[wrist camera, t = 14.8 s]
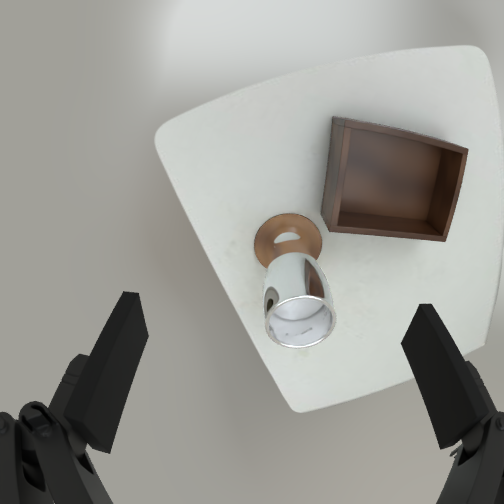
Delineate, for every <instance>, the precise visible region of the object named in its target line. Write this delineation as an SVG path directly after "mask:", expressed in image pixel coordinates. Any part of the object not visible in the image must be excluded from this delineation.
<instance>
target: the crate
mask: <svg viewBox="0 0 504 504" xmlns="http://www.w3.org/2000/svg"><path fill="white" fill-rule="evenodd" d="M467 155H468V149H467V148H464V147H462V146H459V145H456V144H453V143H451V142H448V141H445V140H441V139H438V138H434V137H431V136H427V135H423V134H419V133H415V132H411V131H407V130H403V129H399V128H394V127H390V126H385V125H380V124H375V123H370V122H365V121H359V120H354V119H348V118H341V117H335V116H333V119H332V129H331V138H330V147H329V156H328V164H327V172H326V180H325V187H324V194H323V201H322V208H321V216H322V218H323V220H324V222H325V224H326V226H327V228H328V230H329V232H338V233H351V234H363V235H375V236H387V237H398V238H409V239H420V240H430V241H440V242H445V241H446V238H447V235H448V232H449V229H450V226H451V222H452V219H453V215H454V212H455V208H456V204H457V201H458V197H459V193H460V188H461V184H462V180H463V175H464V170H465V165H466V160H467Z"/></svg>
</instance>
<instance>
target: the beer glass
mask: <svg viewBox="0 0 504 504" xmlns="http://www.w3.org/2000/svg"><path fill="white" fill-rule="evenodd" d="M265 248H266V253H267V256H268V258H269V265H268V268H267V272H266V275H265V279H264V285H263V310H264V318H265V328H266V332H267V334H268V336H269V337H270V338H271V339H272V340H273V341H274V342H276V343H277V344H279V345H281V346H284V347H288V348H306V347H310V346H313V345H316V344H318V343H320V342H321V341H323V340H324V339H326V338H327V337H328V336H329V335H330V334H331V332H332V331H333V329H334V327H335V325H336V313H335V309H334V303H333V298H332V293H331V289H330V286H329V283H328V281H327V278H326V276H325V274H324V272H323V270H322V269H321V267H320V266H319V264H318V263H317V261H316V260H315V259H314V257H313V256H312V254H311V250H312V244H311V240H310V238H309V236H308V234H307V233H306V232H305V231H303V230H302V229H300V228H298V227H295V226H284V227H281V228H278V229H276V230H275V231H274V232H272V233H271V234H270V236H269V237H268V239H267V242H266V247H265Z"/></svg>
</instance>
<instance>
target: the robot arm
mask: <svg viewBox="0 0 504 504" xmlns="http://www.w3.org/2000/svg"><path fill="white" fill-rule="evenodd" d="M148 337H149V335H148V331H147V327H146V323H145V319H144V314H143V310H142V306H141V301H140V297H139V293H134V292H124V291H123V293H122V295H121V297H120V299H119V300H118V302H117V304H116V306H115V308H114V309H113V311H112V313H111V315H110V317H109V319H108V321H107V322H106V324H105V326H104V328H103V330H102V332H101V334H100V336H99V338H98V340H97V342H96V344H95V346H94V348H93V350H92V352H91V354H90V356H87V355H83V354H79V355H77V356H76V357H75V358H74V359H73V360H72V361H71V362H70V364H69V366H68V368H67V370H66V373H65V374H64V376H63V378H62V381H61V382H60V384H59V386H58V388H57V390H56V392H55V394H54V396H53V399H52V401H51V403H50V405H49V407H48V408H47V407H46V406H45V405H44V404H43V403H41V402H37V401H33V402H29V403H27V404H26V405H24V406H23V408H22V409H21V410H20V413H19V420H15V419H14V418H13V417H12V416H11V415H9V414H8V413H6V412H0V504H54V503H55V504H113V502H112V501H111V499H110V497H109V495H108V493H107V492H106V490H105V488H104V486H103V484H102V482H101V480H100V478H99V476H98V475H97V472H96V470H95V468H94V466H93V464H92V462H91V460H90V458H89V456H88V453H87V452H86V450H85V449H86V445H87V443H88V444H89V445H90V446H91V447H92V449H95V450H98V451H102V452H105V453H109V454H110V452H111V448H112V445H113V442H114V438H115V435H116V431H117V428H118V425H119V422H120V418H121V415H122V412H123V409H124V406H125V403H126V400H127V397H128V393H129V391H130V388H131V384H132V382H133V379H134V376H135V373H136V370H137V367H138V364H139V362H140V358H141V356H142V353H143V350H144V348H145V345H146V342H147V339H148ZM401 345H402V348H403V350H404V352H405V355H406V357H407V359H408V362H409V364H410V367H411V369H412V372H413V374H414V377H415V379H416V382H417V384H418V387H419V389H420V392H421V394H422V397H423V400H424V403H425V405H426V408H427V411H428V414H429V417H430V419H431V423H432V425H433V428H434V431H435V434H436V437H437V441H438V444H439V447H440V449H444V448H447V447H450V446H453V445H455V444H456V443H457V442H458V441H459V440H460V439H461V440H462V444H461V445H460V446H459V447H458V448H456V449H455V450H454V451H453V452H451V454H450V456H453V455H454V454H455V453H456V452H457V455H456V456H455V457H454V458H455V460H454V463H453V466H452V468H451V471H450V473H449V476H448V478H447V481H446V483H445V485H444V488H443V490H442V492H441V494H440V497H439V499H438V501H437V503H436V504H504V412H498V411H497V410H496V408H495V406H494V403H493V401H492V399H491V397H490V395H489V393H488V391H487V389H486V387H485V386H484V383H483V381H482V379H480V375H479V373H478V371H477V369H476V368H475V367H474V366H473V365H472V364H471V363H470V362H469V361H465V360H464V358H463V357H462V355H461V353H460V351H459V349H458V347H457V346H456V344H455V342H454V340H453V339H452V337H451V335H450V333H449V332H448V330H447V328H446V327H445V325H444V323H443V322H442V320H441V318H440V317H439V315H438V313H437V312H436V310H435V309H434V307H433V305H432V304H419V306H418V309H417V311H416V313H415V315H414V317H413V319H412V322H411V324H410V326H409V328H408V330H407V332H406V334H405V336H404V338H403V340H402V342H401ZM53 501H54V502H53Z"/></svg>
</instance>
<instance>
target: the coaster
mask: <svg viewBox="0 0 504 504" xmlns="http://www.w3.org/2000/svg"><path fill="white" fill-rule="evenodd" d="M284 226H295V227H298V228H300V229H302V230H303V231H305V232H306V233H307V234H308V236H309V238H310V240H311V244H312V250H311V254H312V256H313V257H314V259H315V260H317V258H318V257H319V255H320V252H321V248H322V239H321V235H320V232H319V230H318V228H317V227H316V225H315V224H314V223H313V222H312V221H310V220H309V219H307V218H306V217H304V216H301V215H298V214H281V215H277V216H275V217H273V218H271V219H269V220H268V221H266V222H265V223H264V224H263V225H262V226H261V227H260V229H259V230H258V232H257V234H256V237H255V243H254V249H255V253H256V256H257V258H258V260H259V262H260V263H261V264H262V265H263V266H264V267H265V268H268V265H269V258H268V256H267V253H266V248H265V247H266V242H267V239H268V237H269V236H270V234H271V233H272V232H274V231H275V230H276V229H278V228H281V227H284Z"/></svg>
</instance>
